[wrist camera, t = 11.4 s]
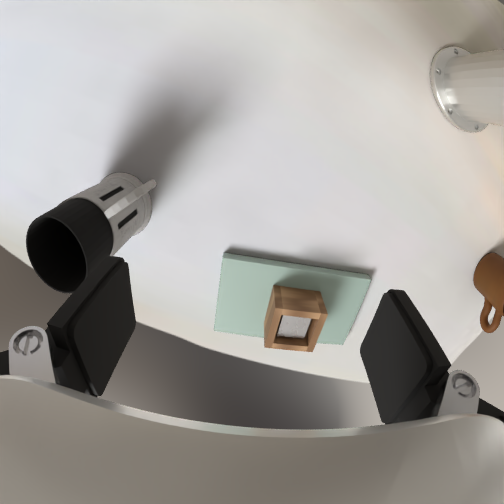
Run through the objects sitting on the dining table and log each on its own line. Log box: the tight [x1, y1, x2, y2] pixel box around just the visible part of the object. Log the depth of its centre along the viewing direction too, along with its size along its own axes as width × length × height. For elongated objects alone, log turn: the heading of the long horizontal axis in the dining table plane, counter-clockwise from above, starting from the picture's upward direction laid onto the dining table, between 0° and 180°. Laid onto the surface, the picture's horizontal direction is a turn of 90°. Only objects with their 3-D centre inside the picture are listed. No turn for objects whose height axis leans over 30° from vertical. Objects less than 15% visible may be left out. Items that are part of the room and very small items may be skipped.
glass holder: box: [26, 172, 157, 293], centre depth 26 cm, size 9×14×15 cm, turn 118°
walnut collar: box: [264, 285, 328, 352], centre depth 36 cm, size 6×6×5 cm
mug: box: [473, 253, 504, 333], centre depth 34 cm, size 12×8×9 cm, turn 166°
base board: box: [214, 253, 371, 345], centre depth 39 cm, size 20×12×2 cm, turn 81°
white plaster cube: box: [277, 315, 311, 338], centre depth 36 cm, size 4×4×4 cm
